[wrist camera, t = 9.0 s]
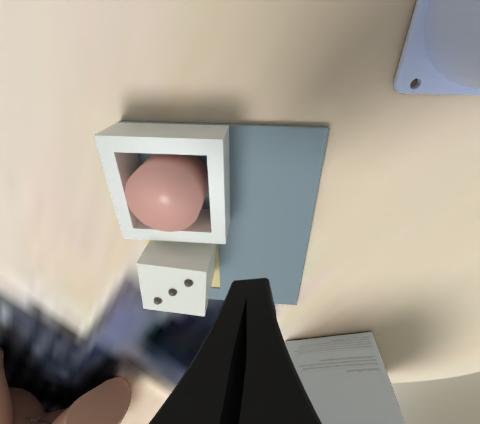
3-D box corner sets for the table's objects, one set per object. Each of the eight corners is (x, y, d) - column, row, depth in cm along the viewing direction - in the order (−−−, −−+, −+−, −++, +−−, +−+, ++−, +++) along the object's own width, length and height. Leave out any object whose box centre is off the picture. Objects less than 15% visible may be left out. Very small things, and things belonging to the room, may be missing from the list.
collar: (229, 125, 16) (222, 139, 14) (230, 220, 20) (225, 244, 18) (117, 122, 17) (93, 135, 14) (139, 215, 20) (122, 238, 18)
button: (207, 148, 17) (197, 167, 14) (211, 208, 19) (203, 233, 17) (138, 145, 17) (116, 163, 14) (150, 205, 19) (133, 229, 17)
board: (327, 126, 16) (329, 128, 16) (296, 301, 25) (296, 304, 25) (120, 120, 17) (117, 122, 17) (159, 292, 26) (157, 295, 25)
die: (217, 230, 21) (205, 275, 17) (214, 271, 23) (204, 319, 19) (159, 223, 21) (134, 266, 17) (163, 265, 23) (141, 311, 19)
